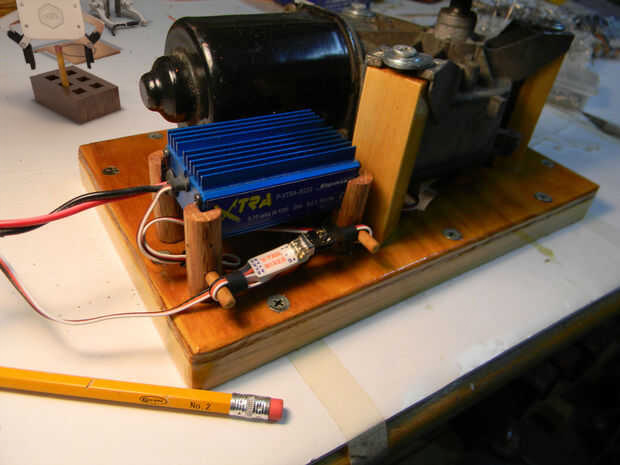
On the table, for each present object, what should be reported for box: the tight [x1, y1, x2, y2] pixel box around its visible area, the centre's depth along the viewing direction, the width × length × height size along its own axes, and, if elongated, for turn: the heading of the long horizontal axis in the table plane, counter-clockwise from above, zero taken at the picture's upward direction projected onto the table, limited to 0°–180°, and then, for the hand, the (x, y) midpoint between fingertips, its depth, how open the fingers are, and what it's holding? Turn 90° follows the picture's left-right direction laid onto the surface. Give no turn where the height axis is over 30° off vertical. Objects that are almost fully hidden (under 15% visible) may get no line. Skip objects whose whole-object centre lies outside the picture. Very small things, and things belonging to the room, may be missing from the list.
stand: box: [29, 64, 122, 125], centre depth 96 cm, size 10×14×6 cm
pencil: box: [54, 44, 69, 87], centre depth 92 cm, size 1×1×14 cm
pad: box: [33, 40, 121, 66], centre depth 120 cm, size 16×12×1 cm
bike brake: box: [88, 0, 150, 37], centre depth 139 cm, size 14×7×20 cm
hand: (61, 66), depth 91 cm, fingers open, 9 cm apart
